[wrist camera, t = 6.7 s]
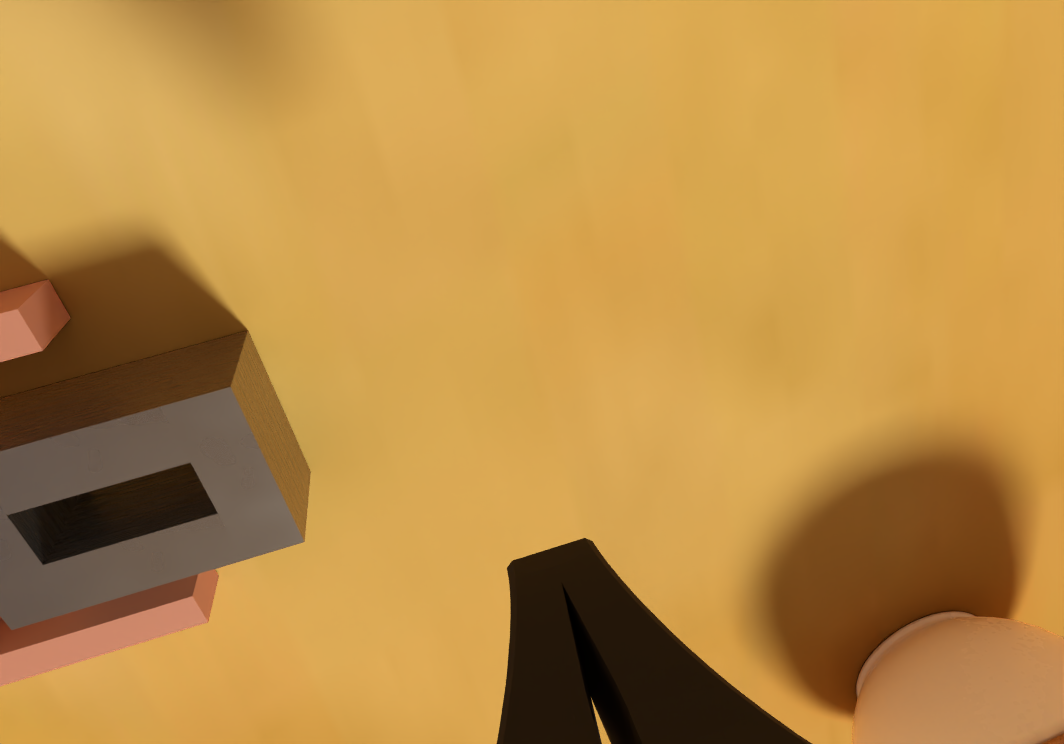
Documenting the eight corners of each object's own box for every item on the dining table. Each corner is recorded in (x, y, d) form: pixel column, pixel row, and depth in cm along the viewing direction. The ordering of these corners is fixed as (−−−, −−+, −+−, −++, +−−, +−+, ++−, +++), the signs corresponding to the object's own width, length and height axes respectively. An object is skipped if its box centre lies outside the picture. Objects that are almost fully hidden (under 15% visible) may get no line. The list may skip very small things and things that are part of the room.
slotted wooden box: (55, 546, 20) (11, 630, 17) (-41, 409, 18) (-108, 481, 15) (310, 471, 21) (304, 542, 18) (247, 330, 18) (230, 386, 16)
